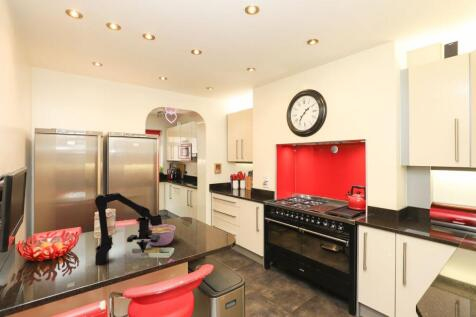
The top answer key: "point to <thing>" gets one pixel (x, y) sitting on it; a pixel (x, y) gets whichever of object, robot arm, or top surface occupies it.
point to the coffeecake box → (110, 223)
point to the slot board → (136, 254)
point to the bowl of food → (163, 234)
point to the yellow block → (155, 250)
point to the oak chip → (147, 250)
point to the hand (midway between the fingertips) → (143, 252)
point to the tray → (162, 255)
